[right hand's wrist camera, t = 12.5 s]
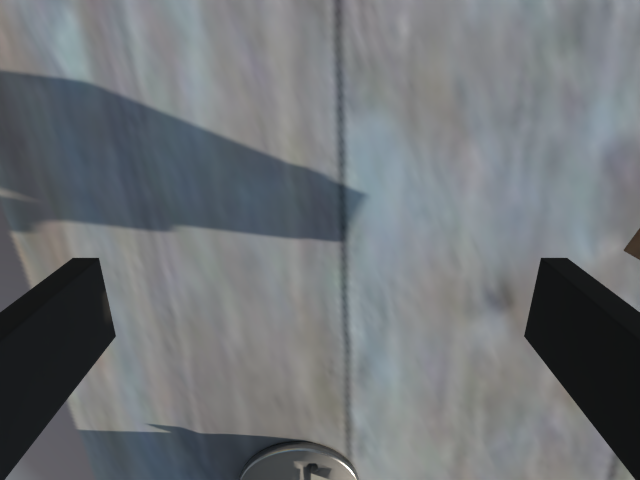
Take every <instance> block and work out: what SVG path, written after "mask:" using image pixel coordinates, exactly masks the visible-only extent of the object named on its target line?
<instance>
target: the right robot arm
mask: <svg viewBox="0 0 640 480" xmlns="http://www.w3.org/2000/svg"><path fill="white" fill-rule="evenodd" d="M115 337H116V335H115V330H114V326H113V321H112V316H111V312H110V307H109V303H108V298H107V293H106V289H105V284H104V280H103V275H102V270H101V266H100V261H99V258H72V259H71V260H70V261H68V262H67V263H66V264H64V265H63V266H62V267H60V268H59V269H58V270H56V271H55V272H54V273H52V274H51V275H50V276H48V277H47V278H46V279H44V280H43V281H42V282H40V283H39V284H38V285H36V286H35V287H34V288H32V289H31V290H30V291H28V292H27V293H26V294H24V295H23V296H22V297H20V298H19V299H18V300H16V301H15V302H14V303H12V304H11V305H10V306H8V307H7V308H6V309H4V310H3V311H2V312H0V480H5V478H6V477H7V476H8V474H9V473H10V472H11V471H12V469H13V468H14V467H15V465H16V464H17V463H18V462H19V460H20V459H21V458H22V456H23V455H24V454H25V453H26V451H27V450H28V449H29V447H30V446H31V445H32V444H33V442H34V441H35V440H36V438H37V437H38V436H39V435H40V433H41V432H42V431H43V429H44V428H45V427H46V426H47V424H48V423H49V422H50V420H51V419H52V418H53V417H54V415H55V414H56V413H57V411H58V410H59V409H60V408H61V406H62V405H63V404H64V402H65V401H66V400H67V398H68V397H69V396H70V395H71V393H72V392H73V391H74V389H75V388H76V387H77V386H78V384H79V383H80V382H81V380H82V379H83V378H84V377H85V375H86V374H87V373H88V371H89V370H90V369H91V368H92V366H93V365H94V364H95V362H96V361H97V360H98V359H99V357H100V356H101V355H102V353H103V352H104V351H105V349H106V348H107V347H108V346H109V344H110V343H111V342H112V340H113V339H114V338H115ZM524 337H525V338H526V339H527V340H528V342H529V343H530V344H531V346H532V347H533V348H534V350H535V351H536V352H537V353H538V355H539V356H540V357H541V359H542V360H543V361H544V362H545V364H546V365H547V366H548V368H549V369H550V370H551V371H552V373H553V374H554V375H555V377H556V378H557V379H558V380H559V382H560V383H561V384H562V386H563V387H564V388H565V389H566V391H567V392H568V393H569V395H570V396H571V397H572V398H573V400H574V401H575V402H576V404H577V405H578V406H579V408H580V409H581V410H582V411H583V413H584V414H585V415H586V417H587V418H588V419H589V420H590V422H591V423H592V424H593V426H594V427H595V428H596V429H597V431H598V432H599V433H600V435H601V436H602V437H603V438H604V440H605V441H606V442H607V444H608V445H609V446H610V447H611V449H612V450H613V451H614V453H615V454H616V455H617V456H618V458H619V459H620V460H621V462H622V463H623V464H624V466H625V467H626V468H627V469H628V471H629V472H630V473H631V475H632V476H633V477H634V478H635V480H640V312H638V311H637V310H636V309H634V308H633V307H632V306H630V305H629V304H628V303H626V302H625V301H624V300H622V299H621V298H620V297H618V296H617V295H616V294H614V293H613V292H612V291H610V290H609V289H608V288H606V287H605V286H604V285H602V284H601V283H600V282H598V281H597V280H596V279H594V278H593V277H592V276H590V275H589V274H588V273H586V272H585V271H584V270H582V269H581V268H580V267H578V266H577V265H576V264H574V263H573V262H572V261H570V260H569V259H568V258H541V261H540V266H539V270H538V275H537V280H536V284H535V289H534V293H533V298H532V303H531V307H530V312H529V316H528V321H527V326H526V330H525V335H524ZM240 480H359V479H358V476H357V473H356V471H355V469H354V467H353V466H352V464H351V463H350V462H349V461H348V460H347V459H346V458H345V457H344V456H342V455H341V454H340V453H338V452H336V451H334V450H333V449H330V448H328V447H325V446H322V445H319V444H315V443H309V442H288V443H282V444H277V445H274V446H271V447H269V448H266V449H264V450H262V451H261V452H259V453H257V454H256V455H255V456H253V457H252V458H251V459H250V460H249V461H248V462H247V464H246V465H245V467H244V468H243V470H242V473H241V476H240Z"/></svg>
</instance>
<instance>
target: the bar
mask: <svg viewBox="0 0 640 480" xmlns="http://www.w3.org/2000/svg"><path fill="white" fill-rule="evenodd" d="M624 251H625V252H627V253H629V254H630V255H632V256H634V257H636V258H637V259H639V260H640V229H639V230H638V231H637V233H636V234H635V235H634V237H633V238H632V239H631V241H630V242H629V243H628V245H627V246H626V248H625V249H624Z"/></svg>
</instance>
